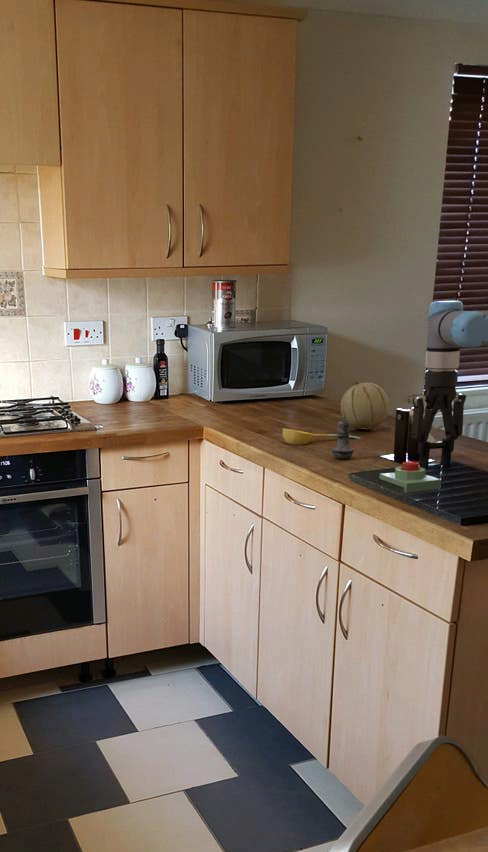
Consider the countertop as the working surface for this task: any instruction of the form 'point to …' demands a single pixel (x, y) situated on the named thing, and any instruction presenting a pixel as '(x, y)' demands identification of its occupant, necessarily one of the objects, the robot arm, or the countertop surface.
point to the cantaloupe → (365, 405)
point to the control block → (411, 480)
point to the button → (410, 466)
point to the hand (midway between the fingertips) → (434, 466)
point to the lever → (433, 442)
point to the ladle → (302, 436)
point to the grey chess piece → (343, 441)
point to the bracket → (404, 440)
